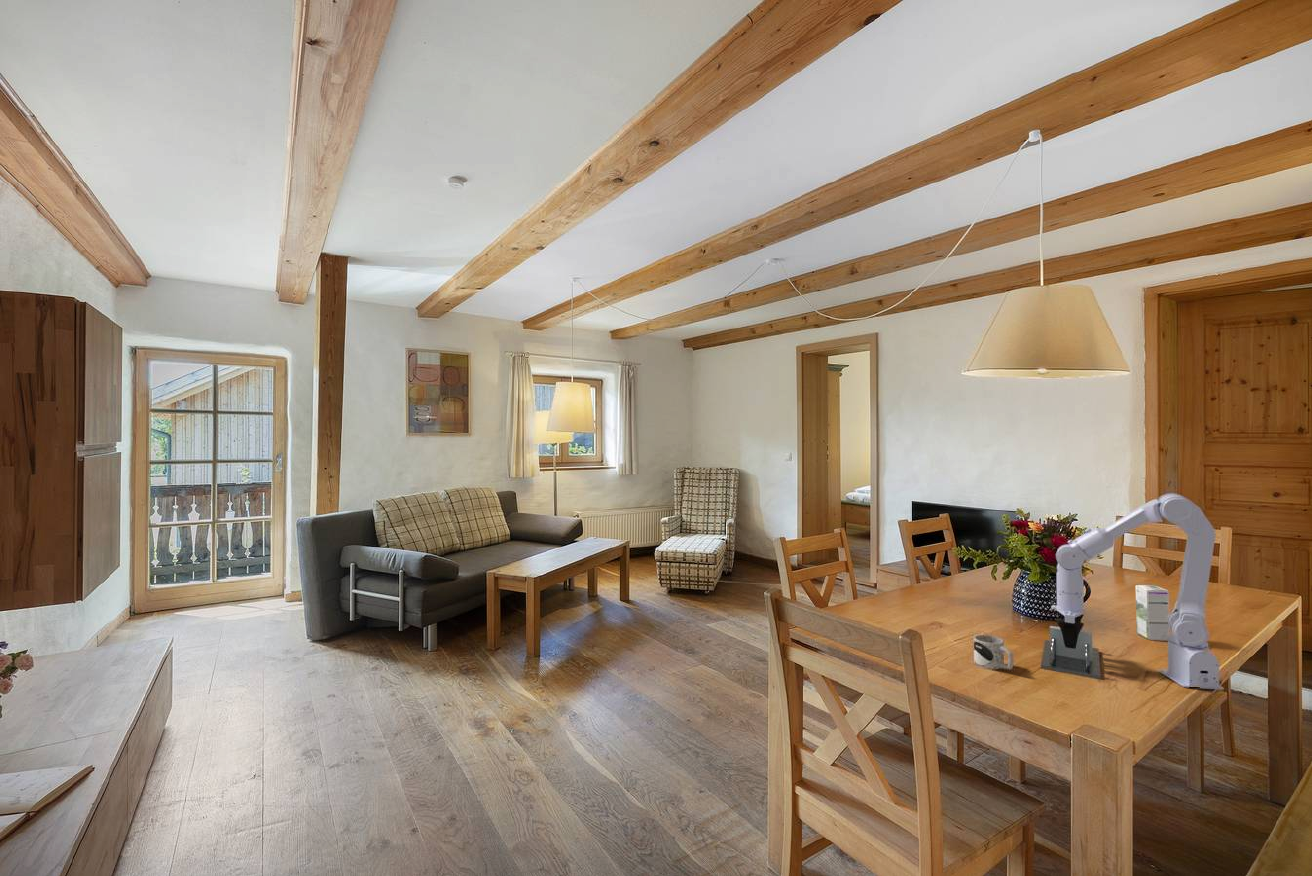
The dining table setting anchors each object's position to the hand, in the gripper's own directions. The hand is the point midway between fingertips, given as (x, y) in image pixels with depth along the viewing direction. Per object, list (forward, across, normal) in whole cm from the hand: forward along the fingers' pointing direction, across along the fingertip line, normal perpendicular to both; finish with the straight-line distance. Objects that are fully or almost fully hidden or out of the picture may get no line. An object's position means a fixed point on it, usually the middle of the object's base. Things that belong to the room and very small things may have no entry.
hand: (1070, 643), depth 152 cm
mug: (+4, +17, -16) cm, 23 cm away
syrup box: (+4, -34, +19) cm, 39 cm away
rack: (+4, 0, 0) cm, 4 cm away
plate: (+3, 0, 0) cm, 3 cm away
